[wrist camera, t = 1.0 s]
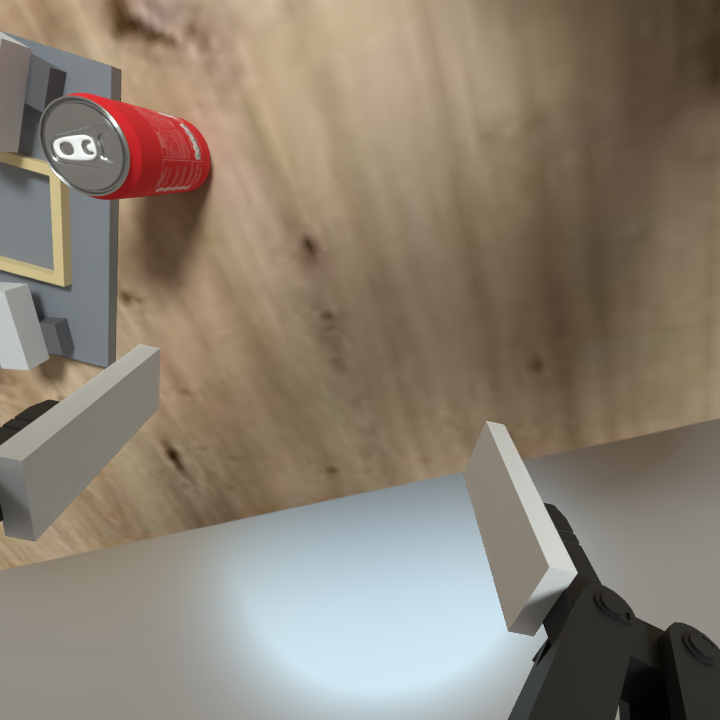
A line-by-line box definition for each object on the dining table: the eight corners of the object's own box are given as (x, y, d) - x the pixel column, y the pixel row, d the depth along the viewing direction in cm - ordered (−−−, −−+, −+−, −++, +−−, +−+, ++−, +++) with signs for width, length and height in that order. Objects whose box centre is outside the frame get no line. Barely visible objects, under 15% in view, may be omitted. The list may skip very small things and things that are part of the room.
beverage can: (221, 190, 33) (144, 199, 22) (159, 192, 33) (54, 202, 22) (208, 116, 31) (117, 86, 20) (143, 120, 31) (17, 92, 20)
